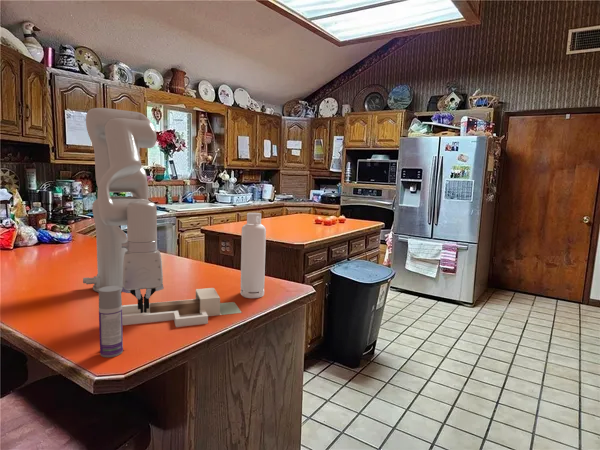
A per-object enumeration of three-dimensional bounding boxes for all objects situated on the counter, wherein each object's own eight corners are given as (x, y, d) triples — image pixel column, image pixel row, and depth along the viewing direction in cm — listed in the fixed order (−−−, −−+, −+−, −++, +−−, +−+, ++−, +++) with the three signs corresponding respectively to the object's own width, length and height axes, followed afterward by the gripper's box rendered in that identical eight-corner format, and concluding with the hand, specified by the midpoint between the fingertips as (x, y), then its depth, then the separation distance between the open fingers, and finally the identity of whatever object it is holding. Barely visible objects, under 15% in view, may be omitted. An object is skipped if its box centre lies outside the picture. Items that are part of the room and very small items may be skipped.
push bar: (150, 317, 109) (150, 306, 108) (150, 314, 112) (149, 303, 111) (201, 313, 114) (201, 302, 113) (200, 309, 117) (200, 299, 116)
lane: (118, 334, 98) (117, 313, 97) (120, 314, 112) (119, 295, 111) (246, 320, 111) (246, 301, 110) (234, 303, 124) (234, 286, 124)
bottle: (254, 299, 128) (256, 215, 125) (235, 295, 133) (236, 213, 129) (268, 293, 135) (271, 213, 132) (250, 289, 140) (252, 211, 136)
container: (105, 348, 91) (103, 285, 89) (126, 348, 91) (124, 285, 89) (96, 357, 86) (94, 291, 84) (118, 357, 86) (116, 292, 84)
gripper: (111, 250, 100) (113, 318, 103) (172, 248, 106) (172, 313, 109) (113, 245, 107) (114, 309, 110) (170, 243, 113) (170, 304, 115)
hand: (143, 311), depth 109 cm, fingers closed
